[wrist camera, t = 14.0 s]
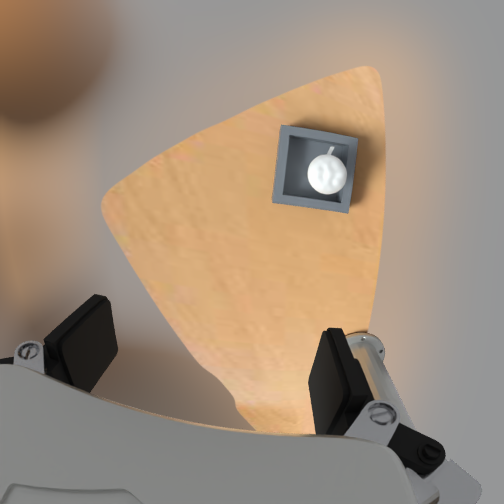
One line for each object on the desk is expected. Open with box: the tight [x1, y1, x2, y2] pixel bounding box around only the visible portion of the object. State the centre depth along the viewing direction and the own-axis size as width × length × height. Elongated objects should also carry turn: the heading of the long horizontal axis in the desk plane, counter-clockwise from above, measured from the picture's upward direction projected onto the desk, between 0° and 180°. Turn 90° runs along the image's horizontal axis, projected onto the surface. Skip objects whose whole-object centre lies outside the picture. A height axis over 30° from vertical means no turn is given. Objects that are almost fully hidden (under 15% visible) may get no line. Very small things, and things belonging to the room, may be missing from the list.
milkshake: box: [304, 146, 347, 194], centre depth 32 cm, size 4×5×10 cm
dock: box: [272, 125, 358, 213], centre depth 36 cm, size 10×10×4 cm
